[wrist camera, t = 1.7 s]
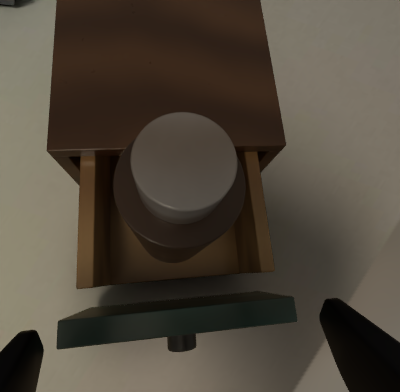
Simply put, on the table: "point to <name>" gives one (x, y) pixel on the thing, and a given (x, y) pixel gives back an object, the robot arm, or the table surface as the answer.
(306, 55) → the table surface
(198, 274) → the drawer
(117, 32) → the cabinet
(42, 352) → the robot arm
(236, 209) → the bottle
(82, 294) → the table surface
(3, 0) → the book
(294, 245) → the table surface
